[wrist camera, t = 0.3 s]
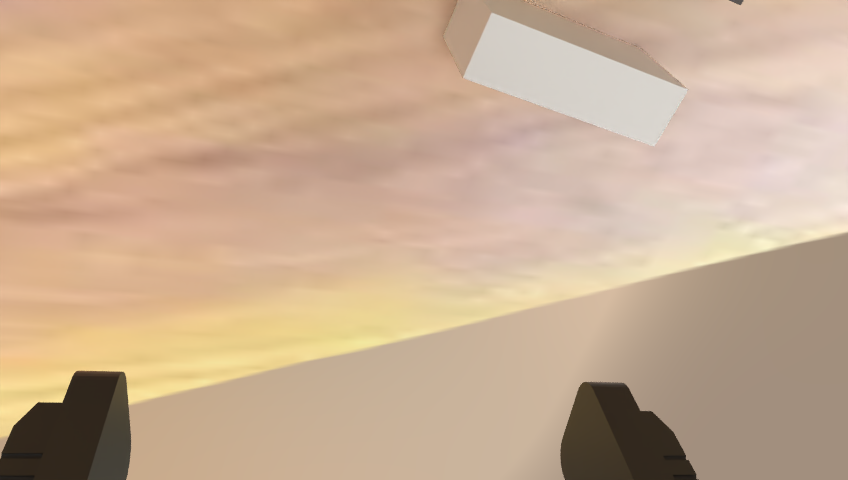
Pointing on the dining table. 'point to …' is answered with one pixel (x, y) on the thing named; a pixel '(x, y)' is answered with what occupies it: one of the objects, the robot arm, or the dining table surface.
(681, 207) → the dining table surface
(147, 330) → the dining table surface
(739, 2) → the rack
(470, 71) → the white rectangular block
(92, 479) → the robot arm
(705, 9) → the dining table surface
